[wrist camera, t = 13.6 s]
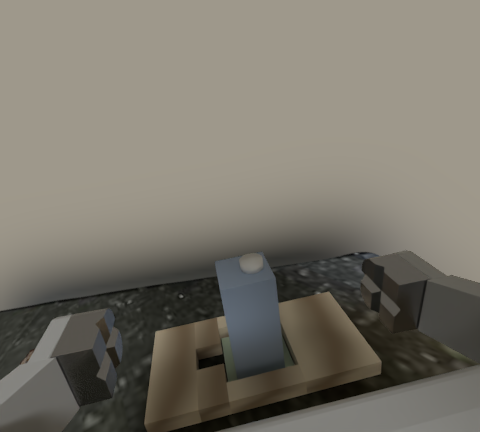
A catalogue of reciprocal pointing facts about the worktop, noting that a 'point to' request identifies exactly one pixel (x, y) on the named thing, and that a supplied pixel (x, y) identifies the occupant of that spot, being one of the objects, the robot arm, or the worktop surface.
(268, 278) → the block
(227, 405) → the board
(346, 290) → the worktop surface
